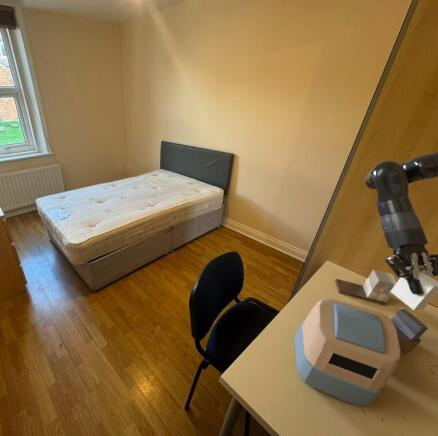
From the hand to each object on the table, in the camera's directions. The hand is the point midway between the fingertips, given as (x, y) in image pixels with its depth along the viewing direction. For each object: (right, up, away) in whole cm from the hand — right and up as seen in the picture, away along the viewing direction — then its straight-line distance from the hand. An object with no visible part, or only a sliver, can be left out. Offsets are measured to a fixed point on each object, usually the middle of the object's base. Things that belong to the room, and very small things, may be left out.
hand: (424, 293), depth 61 cm
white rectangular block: (0, -3, +4) cm, 5 cm away
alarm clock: (-21, -25, +7) cm, 33 cm away
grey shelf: (0, -21, +14) cm, 25 cm away
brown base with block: (+12, -10, +32) cm, 36 cm away
